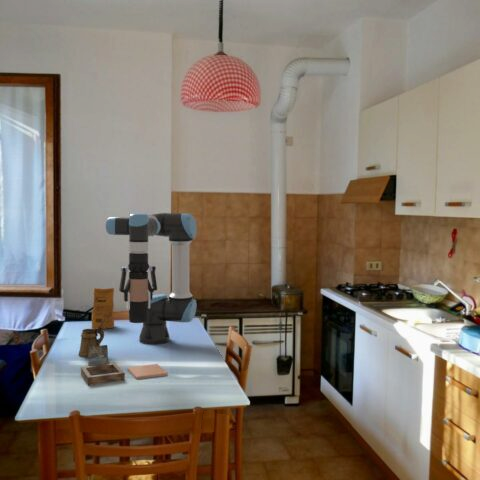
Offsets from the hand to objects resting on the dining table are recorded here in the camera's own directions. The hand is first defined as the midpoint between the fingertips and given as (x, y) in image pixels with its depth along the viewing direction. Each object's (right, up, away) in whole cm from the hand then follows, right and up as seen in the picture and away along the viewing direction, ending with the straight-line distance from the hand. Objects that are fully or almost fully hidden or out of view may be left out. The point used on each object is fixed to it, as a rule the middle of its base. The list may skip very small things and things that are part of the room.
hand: (138, 308), depth 215 cm
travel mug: (0, -5, 0) cm, 5 cm away
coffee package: (-35, -21, +81) cm, 91 cm away
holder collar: (-13, -27, -4) cm, 30 cm away
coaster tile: (+3, -27, +3) cm, 27 cm away
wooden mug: (-26, -25, +28) cm, 45 cm away
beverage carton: (-19, -26, +12) cm, 35 cm away
